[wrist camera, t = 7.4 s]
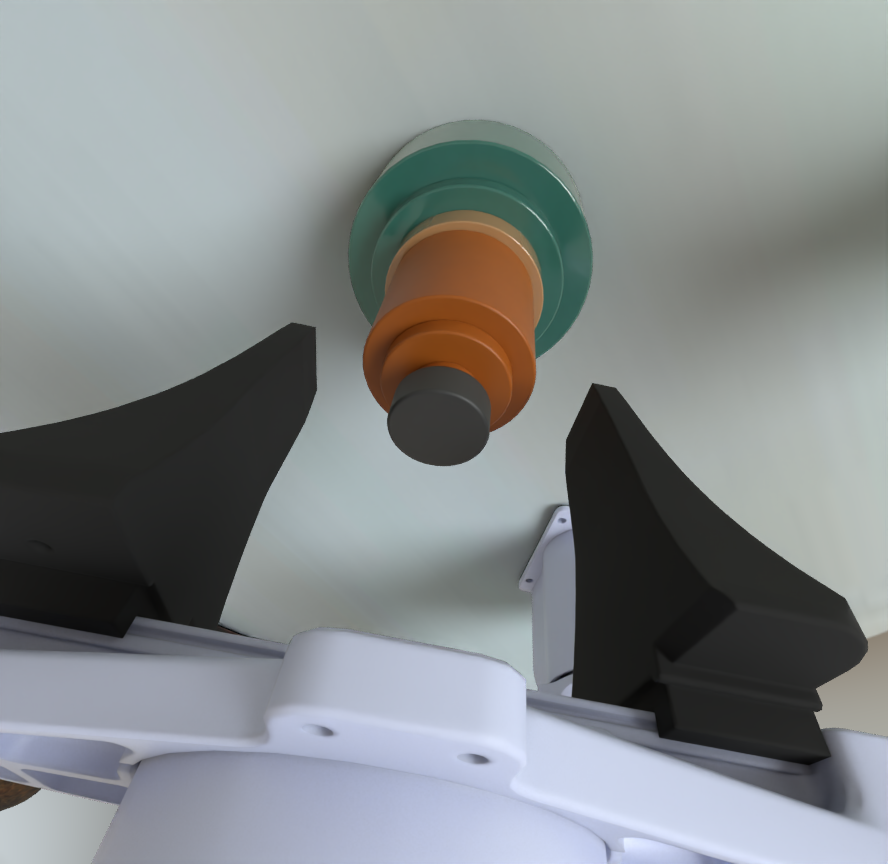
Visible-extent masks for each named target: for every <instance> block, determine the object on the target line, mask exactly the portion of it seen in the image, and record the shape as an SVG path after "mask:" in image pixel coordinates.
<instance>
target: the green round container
mask: <svg viewBox="0 0 888 864" xmlns="http://www.w3.org/2000/svg"><path fill="white" fill-rule="evenodd" d="M452 230H468V231H475V232H479V233H483V234H486V235H488V236H491V237H493V238H495V239H497V240H499V241H500V242H502V243H504V244H505V245H506V246H507V247H509V248H510V249H511V250H512V251H513V252H514V253H515V254H516V255H517V256H518V257H519V259H520V260H521V262H522V263H523V264H524V266H525V268H526V270H527V272H528V274H529V277H530V280H531V284H532V289H533V307H534V333H535V359H536V358H538V357H540V356H541V355H542V354H544V353H545V352H546V351H548V350H549V349H551V348H552V347H553V346H554V345H555V344H556V343H557V342H558V341H559V340H560V339H561V338H562V337H563V336H564V335H565V333H566V332H567V331H568V330H569V329H570V327H571V326H572V324H573V323H574V321H575V320H576V318H577V317H578V315H579V313H580V311H581V309H582V307H583V305H584V302H585V300H586V297H587V294H588V290H589V287H590V282H591V276H592V268H593V251H592V242H591V237H590V233H589V229H588V225H587V221H586V218H585V214H584V210H583V206H582V203H581V199H580V195H579V193H578V190H577V188H576V186H575V183H574V181H573V179H572V177H571V176H570V174H569V172H568V171H567V169H566V167H565V166H564V165H563V163H562V162H561V161H560V160H559V158H558V157H557V156H556V155H555V154H554V153H553V152H552V151H551V150H550V149H549V148H548V147H547V146H546V145H544V144H543V143H542V142H541V141H539V140H538V139H536V138H535V137H533V136H532V135H530V134H528V133H526V132H524V131H522V130H520V129H518V128H516V127H513V126H510V125H506V124H503V123H500V122H494V121H486V120H463V121H457V122H452V123H447V124H444V125H441V126H438V127H435V128H433V129H431V130H429V131H427V132H425V133H423V134H421V135H419V136H417V137H416V138H415V139H413V140H412V141H410V142H409V143H408V144H406V145H405V146H404V147H403V148H402V149H401V150H400V151H399V152H398V153H397V154H396V155H395V156H394V157H393V158H392V159H391V161H390V162H389V163H388V165H387V166H386V167H385V168H384V170H383V171H382V173H381V174H380V175H379V177H378V178H377V180H376V181H375V182H374V184H373V185H372V187H371V188H370V189H369V191H368V192H367V194H366V196H365V197H364V199H363V201H362V203H361V204H360V206H359V208H358V211H357V213H356V216H355V219H354V221H353V225H352V229H351V233H350V238H349V249H348V262H349V272H350V278H351V283H352V286H353V290H354V293H355V296H356V299H357V301H358V303H359V305H360V308H361V310H362V312H363V313H364V315H365V317H366V318H367V320H368V321H369V323H370V324H371V326H373V323H374V321H375V319H376V316H377V314H378V312H379V309H380V307H381V305H382V302H383V300H384V298H385V295H386V293H387V290H388V288H389V286H390V283H391V281H392V279H393V276H394V274H395V272H396V270H397V268H398V266H399V264H400V262H401V260H402V259H403V257H404V256H405V255H406V254H407V253H408V252H409V250H410V249H411V248H413V247H414V246H415V245H416V244H418V243H419V242H420V241H422V240H424V239H426V238H427V237H430V236H432V235H434V234H437V233H441V232H445V231H452Z"/></svg>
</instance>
